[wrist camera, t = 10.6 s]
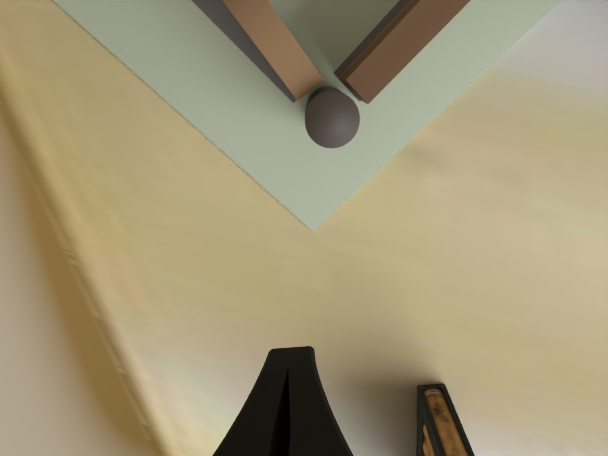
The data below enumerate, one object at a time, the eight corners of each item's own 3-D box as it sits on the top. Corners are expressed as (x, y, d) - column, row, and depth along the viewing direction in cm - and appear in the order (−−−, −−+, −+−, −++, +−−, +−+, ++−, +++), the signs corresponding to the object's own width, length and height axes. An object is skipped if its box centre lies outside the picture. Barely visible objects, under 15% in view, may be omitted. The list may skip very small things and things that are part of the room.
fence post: (499, -39, 15) (573, -82, 11) (326, 138, 18) (331, 159, 14) (470, -82, 14) (537, -144, 10) (296, 109, 17) (293, 121, 13)
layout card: (559, -1, 15) (563, -2, 15) (312, 229, 20) (312, 231, 19) (295, -411, 11) (295, -421, 11) (56, 1, 15) (52, 0, 15)
